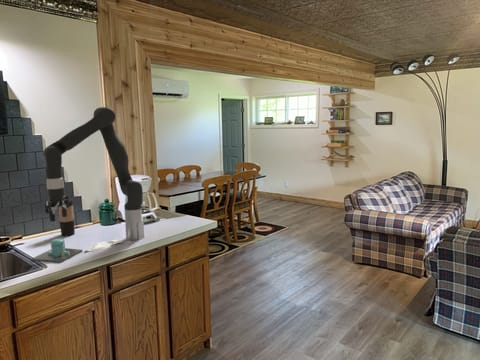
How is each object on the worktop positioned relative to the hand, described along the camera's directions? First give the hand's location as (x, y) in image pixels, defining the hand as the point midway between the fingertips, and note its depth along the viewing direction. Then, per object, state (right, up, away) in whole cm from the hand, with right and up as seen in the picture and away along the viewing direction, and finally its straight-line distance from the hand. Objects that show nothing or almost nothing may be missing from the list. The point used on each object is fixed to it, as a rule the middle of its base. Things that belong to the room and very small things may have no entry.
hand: (58, 218), depth 179 cm
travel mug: (-12, -13, +34) cm, 38 cm away
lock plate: (0, -18, -1) cm, 18 cm away
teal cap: (+1, -17, -1) cm, 17 cm away
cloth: (+18, -17, +14) cm, 28 cm away
